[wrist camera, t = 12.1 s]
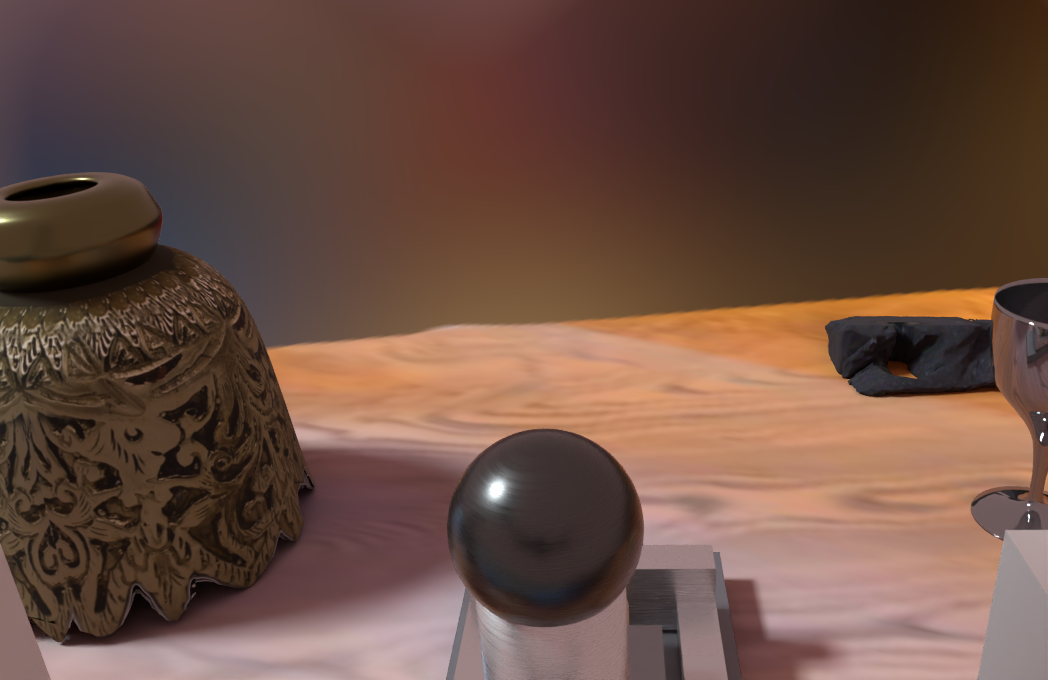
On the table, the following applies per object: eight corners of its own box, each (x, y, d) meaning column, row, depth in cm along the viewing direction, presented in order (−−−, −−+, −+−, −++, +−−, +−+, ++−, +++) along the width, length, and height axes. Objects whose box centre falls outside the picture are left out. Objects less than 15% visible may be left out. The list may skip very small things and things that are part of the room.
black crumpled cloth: (1133, 402, 72) (1145, 348, 71) (843, 404, 76) (847, 351, 74) (1057, 325, 86) (1065, 278, 84) (814, 329, 90) (817, 283, 88)
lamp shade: (48, 462, 76) (-51, 162, 65) (329, 433, 77) (275, 132, 67) (-105, 668, 54) (-288, 270, 44) (287, 623, 55) (197, 224, 45)
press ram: (384, 1094, 30) (246, 504, 21) (478, 604, 52) (431, 207, 43) (788, 1116, 29) (835, 495, 20) (711, 604, 51) (715, 194, 41)
